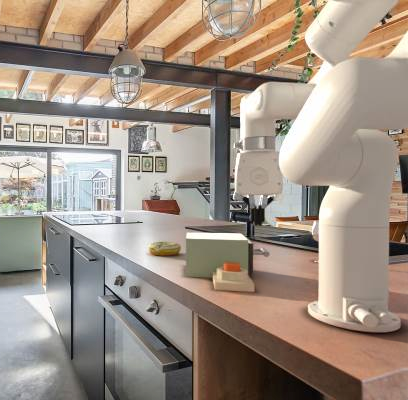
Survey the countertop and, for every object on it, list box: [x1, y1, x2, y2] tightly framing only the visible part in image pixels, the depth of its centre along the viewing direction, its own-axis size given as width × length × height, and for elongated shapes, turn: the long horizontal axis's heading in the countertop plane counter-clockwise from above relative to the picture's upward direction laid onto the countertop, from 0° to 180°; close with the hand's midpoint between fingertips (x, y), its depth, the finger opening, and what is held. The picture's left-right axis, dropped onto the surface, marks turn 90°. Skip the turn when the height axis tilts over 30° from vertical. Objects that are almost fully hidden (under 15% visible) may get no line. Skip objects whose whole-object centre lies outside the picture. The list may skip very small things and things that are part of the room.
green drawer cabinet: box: [185, 232, 249, 279], centre depth 92 cm, size 15×13×10 cm
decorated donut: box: [148, 240, 182, 257], centre depth 120 cm, size 10×11×4 cm
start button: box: [224, 262, 240, 272], centre depth 80 cm, size 4×4×2 cm
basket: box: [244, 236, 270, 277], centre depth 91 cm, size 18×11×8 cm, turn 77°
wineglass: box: [311, 220, 319, 264], centre depth 104 cm, size 6×6×12 cm
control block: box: [211, 267, 255, 293], centre depth 80 cm, size 10×8×4 cm
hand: (257, 225), depth 83 cm, fingers closed
